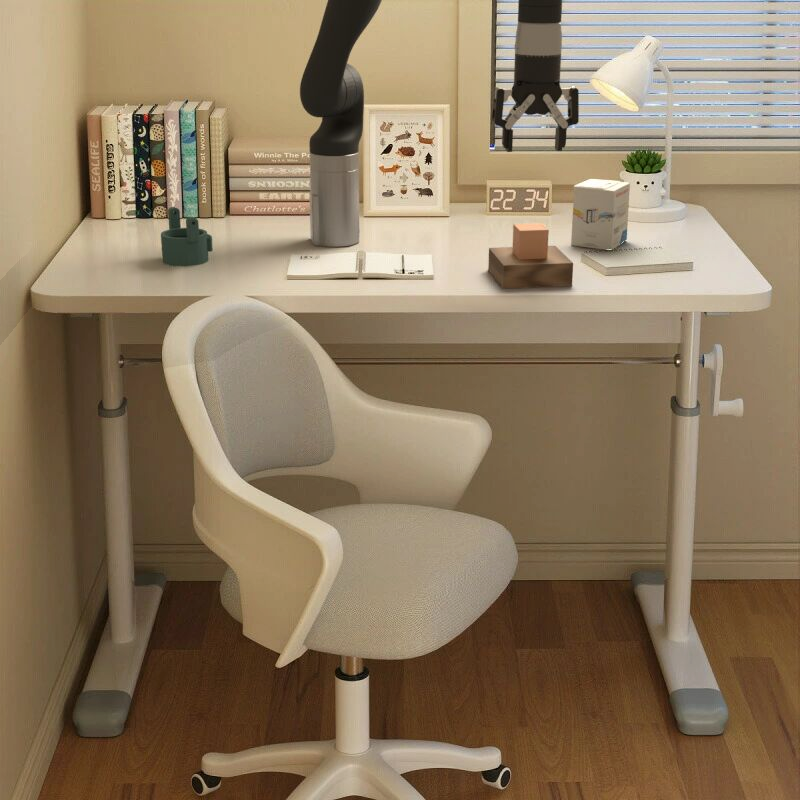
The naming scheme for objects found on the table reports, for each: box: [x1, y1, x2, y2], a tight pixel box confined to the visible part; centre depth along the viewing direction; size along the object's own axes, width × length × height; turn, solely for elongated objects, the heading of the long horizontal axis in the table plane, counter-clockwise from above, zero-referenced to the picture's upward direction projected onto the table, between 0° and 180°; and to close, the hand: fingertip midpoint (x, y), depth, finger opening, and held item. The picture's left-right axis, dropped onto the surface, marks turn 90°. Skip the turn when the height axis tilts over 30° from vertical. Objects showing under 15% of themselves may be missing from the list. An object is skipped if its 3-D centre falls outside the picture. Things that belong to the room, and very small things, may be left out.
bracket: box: [160, 206, 213, 267], centre depth 227 cm, size 9×9×9 cm
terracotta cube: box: [512, 222, 550, 259], centre depth 215 cm, size 5×5×5 cm
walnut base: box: [487, 245, 574, 289], centre depth 217 cm, size 12×12×4 cm
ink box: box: [570, 178, 631, 250], centre depth 238 cm, size 9×8×12 cm
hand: (533, 150), depth 210 cm, fingers open, 8 cm apart
